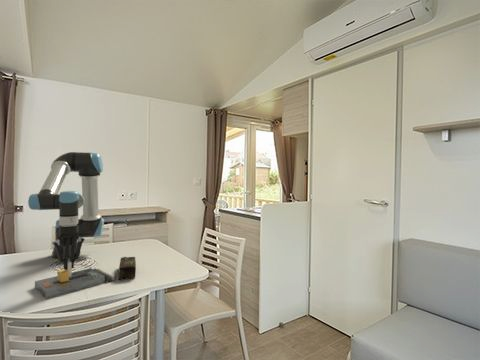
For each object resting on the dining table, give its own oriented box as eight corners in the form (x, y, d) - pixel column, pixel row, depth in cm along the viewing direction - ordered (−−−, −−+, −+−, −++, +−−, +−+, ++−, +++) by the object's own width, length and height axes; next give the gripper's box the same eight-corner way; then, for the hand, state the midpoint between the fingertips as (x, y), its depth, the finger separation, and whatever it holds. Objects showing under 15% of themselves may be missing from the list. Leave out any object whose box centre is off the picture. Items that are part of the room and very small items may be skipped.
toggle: (57, 279, 128) (57, 270, 128) (64, 277, 131) (64, 269, 131) (61, 282, 125) (61, 273, 125) (68, 280, 127) (68, 271, 127)
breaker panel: (34, 287, 127) (34, 281, 126) (90, 274, 145) (90, 267, 145) (45, 299, 116) (45, 291, 116) (104, 282, 134) (104, 276, 134)
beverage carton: (135, 266, 158) (135, 255, 158) (135, 279, 140) (135, 266, 140) (120, 268, 155) (120, 256, 155) (118, 281, 137) (118, 267, 137)
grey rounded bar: (92, 273, 145) (92, 269, 145) (100, 271, 148) (100, 267, 148) (107, 282, 134) (107, 277, 134) (115, 280, 137) (115, 275, 137)
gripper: (55, 228, 122) (55, 282, 122) (87, 224, 131) (86, 274, 132) (49, 225, 126) (49, 277, 127) (80, 222, 136) (80, 270, 137)
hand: (68, 275), depth 130 cm, fingers closed
